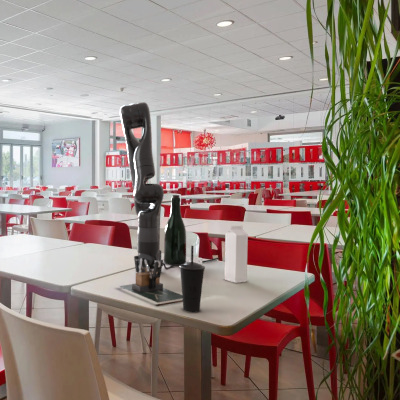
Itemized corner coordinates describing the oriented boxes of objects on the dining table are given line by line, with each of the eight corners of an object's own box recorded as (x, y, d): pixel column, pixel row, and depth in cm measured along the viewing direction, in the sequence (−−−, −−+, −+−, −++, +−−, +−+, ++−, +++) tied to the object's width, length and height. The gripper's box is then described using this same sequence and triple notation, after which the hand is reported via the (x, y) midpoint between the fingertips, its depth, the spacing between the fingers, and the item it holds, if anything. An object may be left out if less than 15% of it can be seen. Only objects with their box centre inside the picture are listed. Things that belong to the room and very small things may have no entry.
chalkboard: (147, 284, 161) (147, 281, 161) (190, 300, 140) (190, 297, 140) (116, 288, 155) (116, 285, 155) (157, 306, 134) (157, 303, 134)
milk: (246, 281, 166) (248, 226, 165) (235, 283, 164) (236, 227, 163) (235, 278, 172) (237, 224, 171) (223, 279, 169) (225, 225, 168)
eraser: (154, 286, 155) (154, 270, 154) (163, 289, 150) (163, 272, 150) (131, 289, 150) (132, 272, 150) (140, 292, 146) (140, 275, 145)
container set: (190, 268, 190) (190, 256, 189) (202, 269, 188) (202, 257, 187) (181, 278, 172) (181, 264, 171) (194, 279, 169) (194, 266, 169)
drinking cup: (175, 306, 133) (176, 244, 132) (198, 306, 134) (199, 243, 133) (183, 314, 126) (184, 247, 125) (208, 313, 126) (209, 247, 125)
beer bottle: (159, 263, 202) (160, 194, 201) (172, 260, 209) (172, 194, 208) (177, 266, 195) (178, 195, 193) (190, 263, 202) (191, 194, 200)
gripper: (169, 241, 145) (168, 290, 146) (144, 236, 157) (144, 281, 158) (151, 243, 141) (151, 293, 142) (127, 237, 154) (127, 283, 155)
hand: (147, 286), depth 150 cm, fingers closed on eraser, 5 cm apart
